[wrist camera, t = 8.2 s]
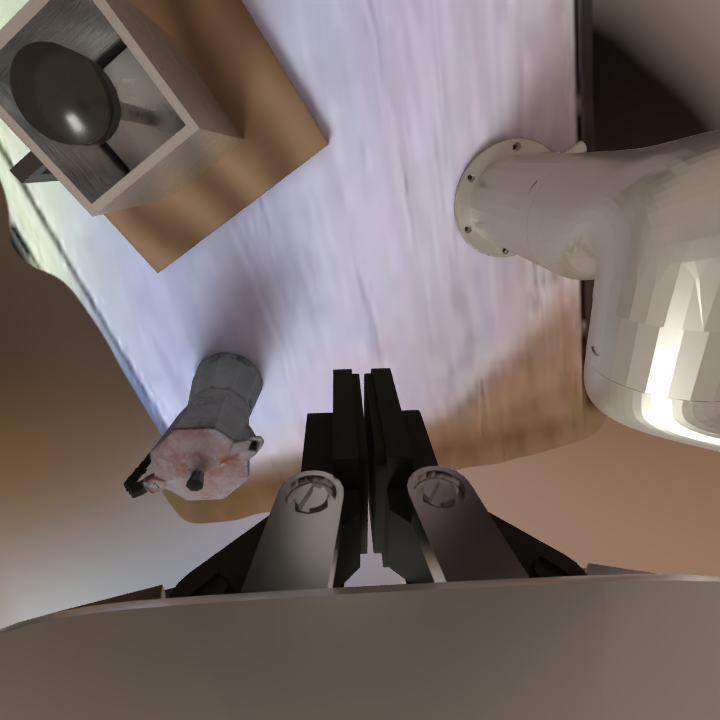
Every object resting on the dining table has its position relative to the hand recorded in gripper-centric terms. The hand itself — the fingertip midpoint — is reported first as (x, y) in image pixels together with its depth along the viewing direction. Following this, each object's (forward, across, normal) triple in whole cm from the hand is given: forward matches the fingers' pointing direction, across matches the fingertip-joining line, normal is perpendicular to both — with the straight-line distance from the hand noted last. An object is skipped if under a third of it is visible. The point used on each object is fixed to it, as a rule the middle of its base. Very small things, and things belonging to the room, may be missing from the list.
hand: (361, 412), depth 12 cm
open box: (+37, +18, -9) cm, 42 cm away
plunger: (+31, +17, -10) cm, 37 cm away
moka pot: (+38, +16, +20) cm, 46 cm away
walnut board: (+38, +17, -10) cm, 43 cm away
